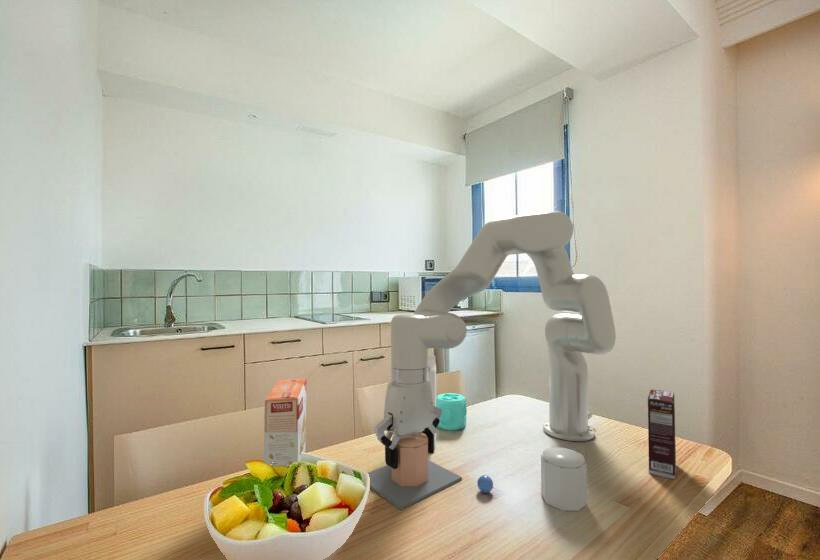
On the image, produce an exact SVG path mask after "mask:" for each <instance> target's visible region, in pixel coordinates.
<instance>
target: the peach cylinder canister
mask: <svg viewBox="0 0 820 560" xmlns="http://www.w3.org/2000/svg"><path fill="white" fill-rule="evenodd" d="M393 436H394V435H392V437H391V439H392V438H393ZM395 447H396V448H397V449H398V468H397V469H393V468H392V467H391V480H393V481H394V482H396V483H397V484H399V485H401V486H418V485H420V484H422V483H425V482H427V481H428V460H429V453H428V437H427V435H426V434H424V433H422V432H418V431H417V432H414V433H411V434H408V435H405V436H402V437H400V439H399V441H398V442H397V444H396V446H395Z"/></svg>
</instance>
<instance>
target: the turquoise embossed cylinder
mask: <svg viewBox="0 0 820 560" xmlns="http://www.w3.org/2000/svg"><path fill="white" fill-rule="evenodd" d="M467 406H468V404H467V399H466V397H465V396H464V395H462V394H460V393H456V392H452V393H451V392H447V393H440V394H438V395H436V407H438V408H440V409H442V413H441V416H440V418H439V420H440V422H439V424H438V426H437V428H439V429H441V430H444V431H449V430H450V431H451V432H452V431H453V430H455V431H460V429H461V430H463V429H464V428H465V427H466V424H467V414H468V413H467V412H468V411H467V408H468V407H467ZM453 432H454V431H453Z"/></svg>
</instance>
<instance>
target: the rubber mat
mask: <svg viewBox="0 0 820 560" xmlns="http://www.w3.org/2000/svg"><path fill="white" fill-rule="evenodd" d="M367 473H368V474H369V477H370V489H371V490H372V491H374V492H375V493H376V494H378V495H379V496H381V497H382V498H383V499H385V500H386V501H387V502H389V503H390V504H392V505H393V506H394V507H396V508H398V509H399V510H400V511H401V510H403V509H405V508H407V507H409V506H411V505H413V504H415V503H417V502H419V501H421V500H424V499H425V498H428V497H429V496H431V495H434V494H436V493H437V492H439V491H442V490H444V489H445V488H447V487H449V486H452V485H454V484H456V483H458V482H460V481H462V480H463V477H462V476H460V475H459V474H457V473H454V472H453V471H451V470H449V469H447V468H445V467H443V466H441V465H440V464H437V463H435V462H433V461H431V460H429V459H428V481H427V482H425V483H422V484H420V485H418V486H401V485H399V484H397V483H396V482H394V481H393V480H391V467H390V466H388V465H387V464H385V465H384V466H381V467H379V468H375V469H373V470H372V471H368V472H367Z"/></svg>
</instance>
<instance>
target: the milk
mask: <svg viewBox="0 0 820 560" xmlns="http://www.w3.org/2000/svg"><path fill="white" fill-rule="evenodd" d="M436 359H437V358H436V355H435V354H434V355H432V354H431V355H430V354H428V366H429V367H430V371H429V372H428V379H429V380H430V384H431V390H432V397H433V406H435V407H436V397H437V363H436ZM423 430H424V429H423ZM423 430H420V431H418V432H422V431H423ZM436 443H437V432H436V433H435V434H434V450H435V449H436V446H437V445H436Z"/></svg>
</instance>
